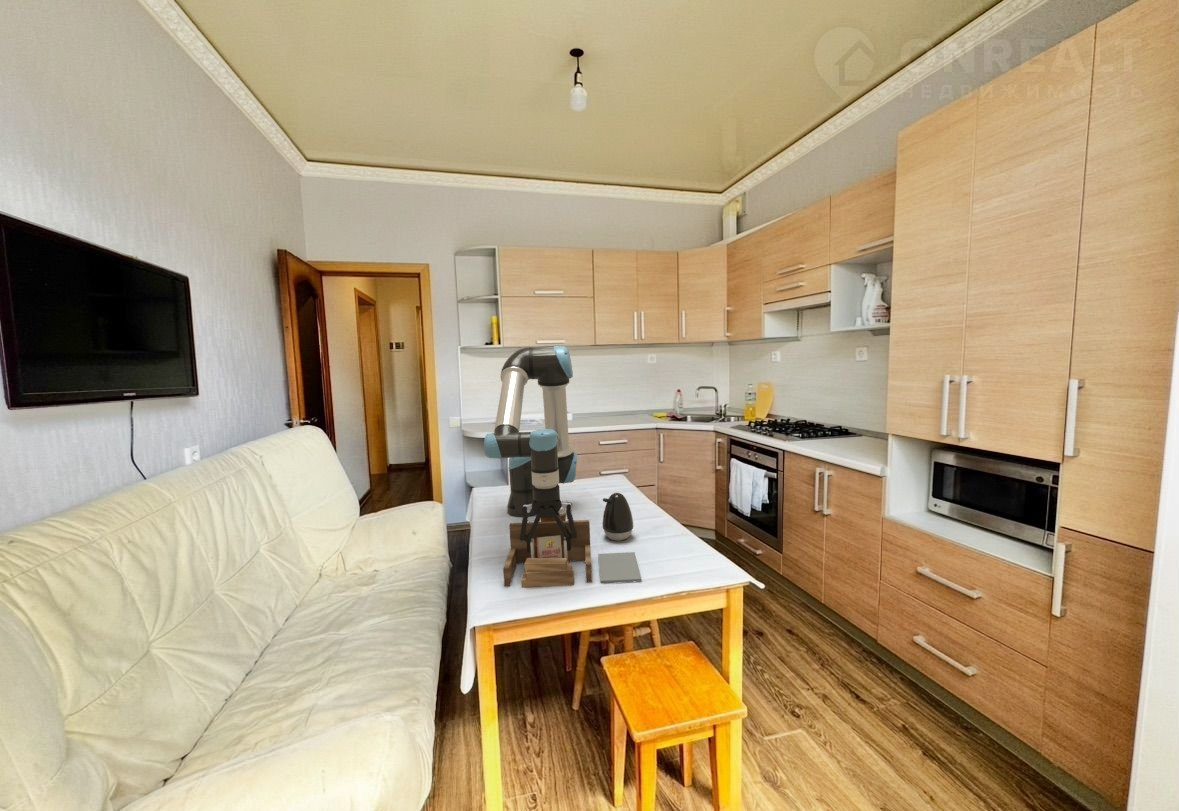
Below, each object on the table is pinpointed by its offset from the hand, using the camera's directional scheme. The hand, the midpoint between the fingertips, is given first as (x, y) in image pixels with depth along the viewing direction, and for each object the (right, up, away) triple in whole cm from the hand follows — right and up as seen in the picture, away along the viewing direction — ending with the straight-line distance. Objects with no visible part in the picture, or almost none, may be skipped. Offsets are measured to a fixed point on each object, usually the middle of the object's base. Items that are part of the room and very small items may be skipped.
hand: (549, 561), depth 127 cm
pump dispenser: (+21, +1, +20) cm, 29 cm away
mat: (+20, -2, 0) cm, 20 cm away
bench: (0, -3, -1) cm, 3 cm away
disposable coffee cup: (0, 0, +19) cm, 19 cm away
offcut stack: (0, -3, -7) cm, 7 cm away
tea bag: (0, -3, 0) cm, 3 cm away
